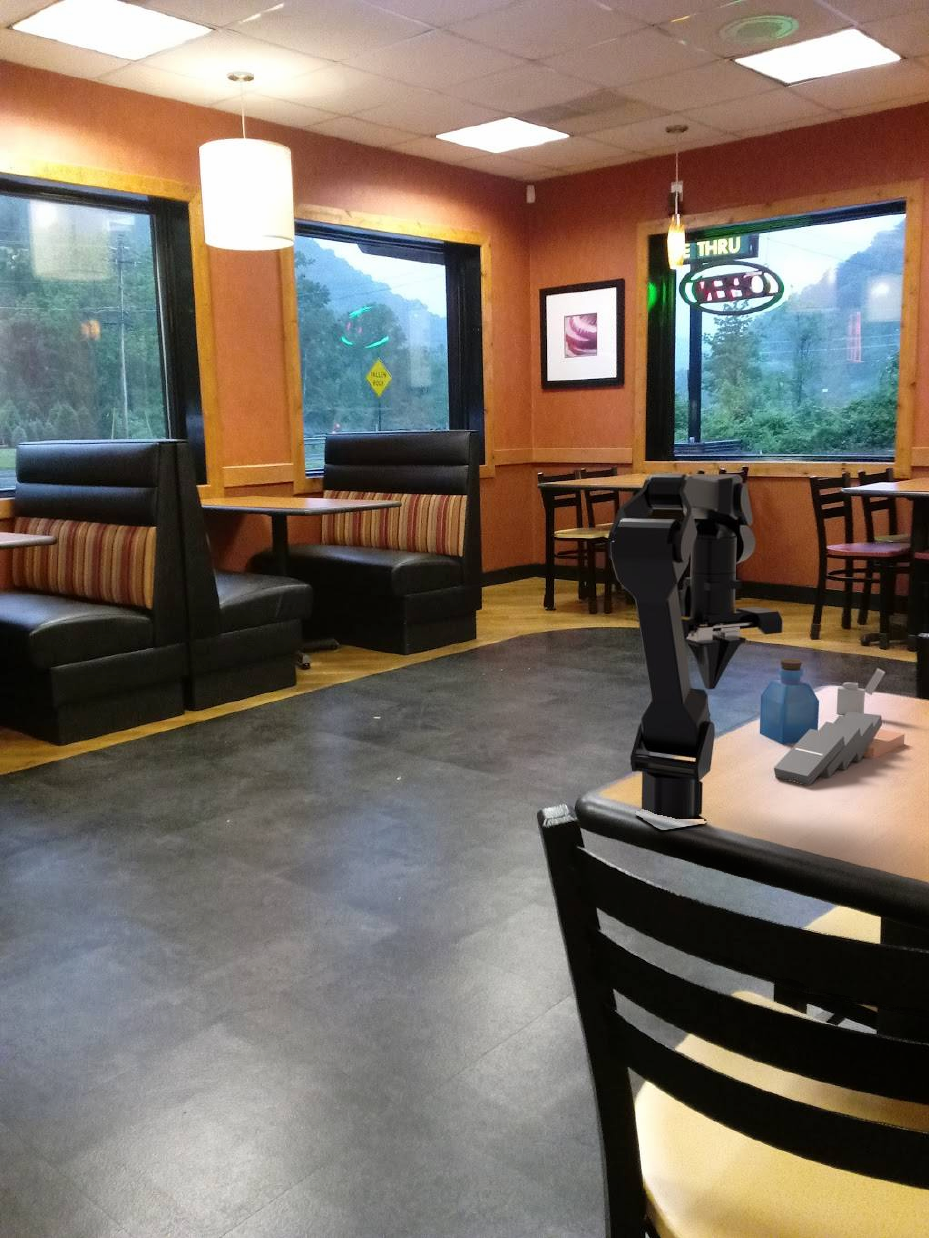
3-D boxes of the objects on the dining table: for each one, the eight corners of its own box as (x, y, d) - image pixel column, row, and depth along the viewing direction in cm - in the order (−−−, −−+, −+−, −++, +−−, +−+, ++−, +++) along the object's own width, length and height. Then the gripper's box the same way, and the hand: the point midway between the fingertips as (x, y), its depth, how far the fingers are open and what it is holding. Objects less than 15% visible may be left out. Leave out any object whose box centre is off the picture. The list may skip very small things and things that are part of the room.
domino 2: (827, 768, 143) (859, 727, 149) (793, 760, 147) (826, 721, 153) (828, 777, 144) (861, 737, 150) (794, 770, 147) (827, 730, 153)
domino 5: (873, 748, 152) (904, 733, 159) (840, 741, 156) (872, 727, 162) (873, 759, 152) (904, 744, 159) (840, 752, 156) (871, 737, 163)
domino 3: (842, 760, 146) (872, 721, 152) (808, 753, 150) (839, 715, 156) (844, 770, 147) (874, 730, 153) (810, 763, 150) (840, 724, 156)
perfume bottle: (781, 744, 160) (784, 666, 158) (759, 733, 166) (762, 658, 164) (817, 740, 162) (820, 663, 160) (794, 730, 167) (797, 655, 165)
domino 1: (807, 775, 140) (843, 735, 146) (773, 767, 144) (810, 728, 149) (809, 785, 141) (845, 745, 147) (775, 777, 144) (811, 738, 150)
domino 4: (857, 752, 150) (881, 715, 156) (822, 747, 153) (847, 711, 159) (858, 761, 150) (882, 724, 157) (824, 756, 153) (848, 720, 160)
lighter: (836, 713, 177) (838, 666, 175) (837, 711, 178) (840, 664, 177) (881, 718, 174) (884, 670, 172) (882, 715, 175) (885, 668, 174)
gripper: (736, 561, 148) (733, 670, 151) (618, 568, 142) (617, 682, 144) (787, 570, 138) (783, 687, 141) (663, 578, 131) (660, 701, 134)
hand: (709, 688), depth 140 cm, fingers closed
